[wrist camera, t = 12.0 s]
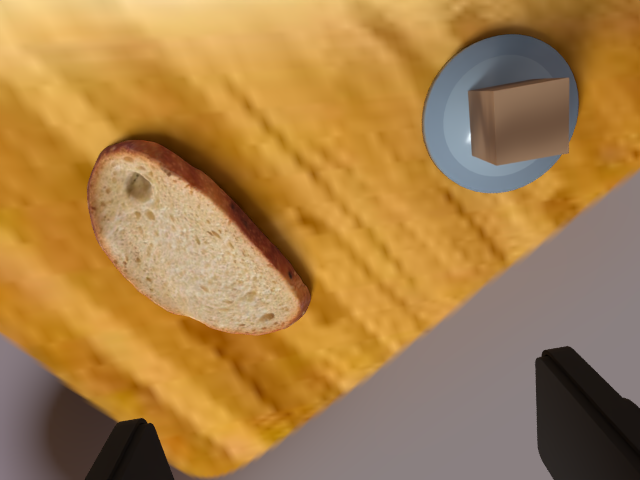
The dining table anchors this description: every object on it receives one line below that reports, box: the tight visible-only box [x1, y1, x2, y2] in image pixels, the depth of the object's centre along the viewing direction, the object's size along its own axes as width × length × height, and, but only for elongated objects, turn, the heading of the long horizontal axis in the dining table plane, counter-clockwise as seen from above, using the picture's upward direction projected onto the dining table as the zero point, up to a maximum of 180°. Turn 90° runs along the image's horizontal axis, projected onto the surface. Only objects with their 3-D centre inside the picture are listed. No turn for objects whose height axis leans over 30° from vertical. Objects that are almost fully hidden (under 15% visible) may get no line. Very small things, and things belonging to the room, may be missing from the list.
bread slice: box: [87, 140, 311, 335], centre depth 37 cm, size 18×18×4 cm
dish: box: [422, 34, 579, 193], centre depth 35 cm, size 12×12×1 cm
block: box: [468, 78, 569, 166], centre depth 32 cm, size 5×5×5 cm
